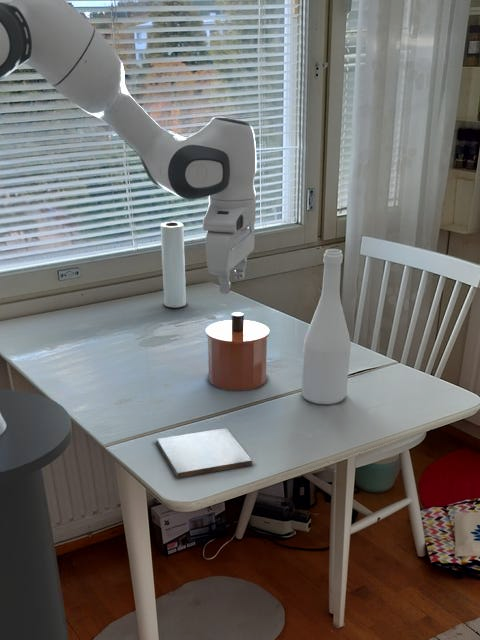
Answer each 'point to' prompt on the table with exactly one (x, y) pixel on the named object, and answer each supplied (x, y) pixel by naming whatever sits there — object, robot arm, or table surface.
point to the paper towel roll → (173, 264)
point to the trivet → (203, 452)
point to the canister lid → (237, 330)
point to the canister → (237, 364)
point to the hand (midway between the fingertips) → (232, 285)
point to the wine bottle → (327, 341)
